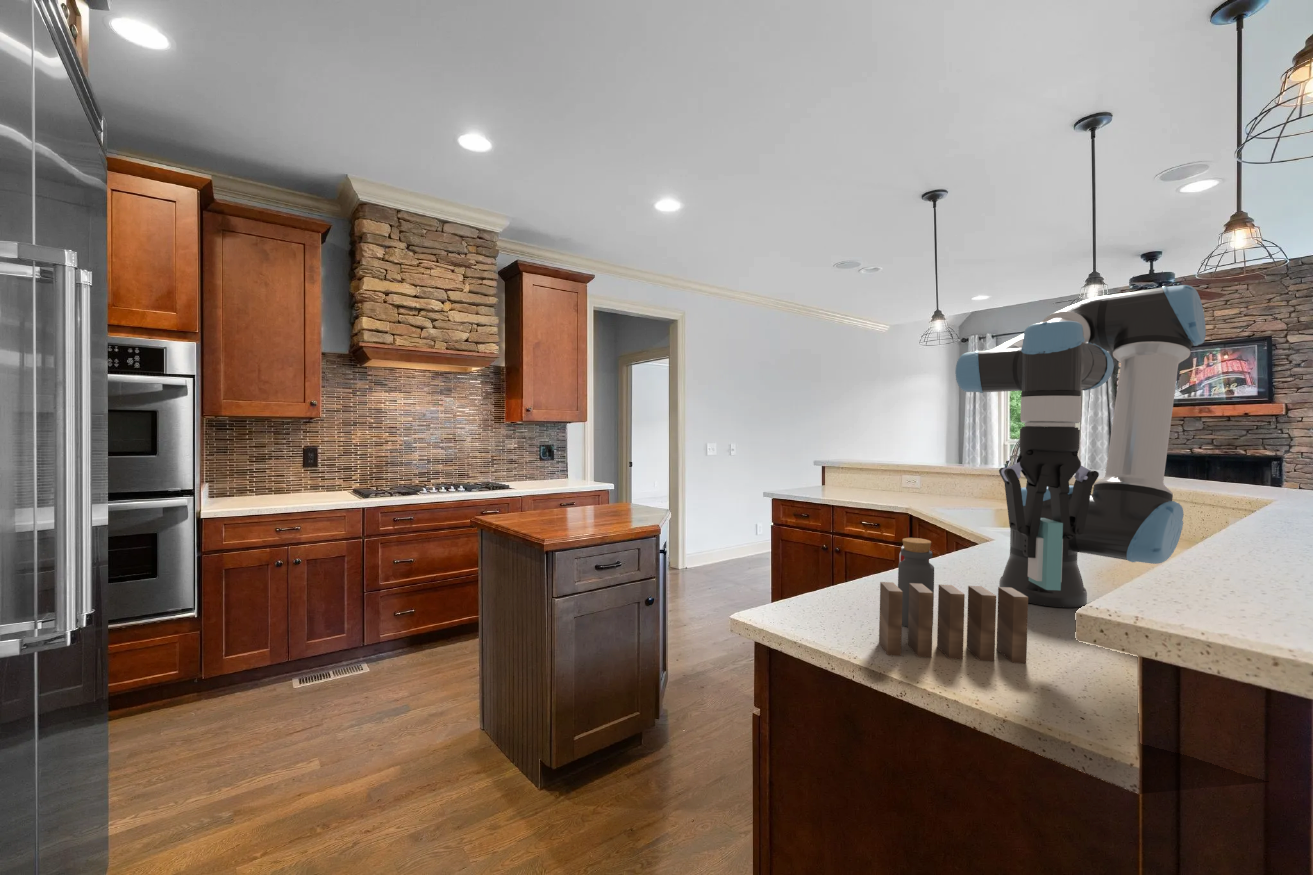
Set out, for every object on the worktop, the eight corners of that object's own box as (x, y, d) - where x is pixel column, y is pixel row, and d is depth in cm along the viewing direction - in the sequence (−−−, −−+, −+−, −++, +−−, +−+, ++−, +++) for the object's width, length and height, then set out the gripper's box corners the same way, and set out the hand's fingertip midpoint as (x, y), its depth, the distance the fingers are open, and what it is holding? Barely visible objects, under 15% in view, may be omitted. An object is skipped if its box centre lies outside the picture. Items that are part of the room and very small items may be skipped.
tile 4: (950, 646, 92) (951, 584, 92) (962, 659, 87) (964, 594, 87) (937, 645, 92) (938, 584, 92) (948, 658, 87) (950, 593, 87)
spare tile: (1042, 581, 90) (1044, 517, 90) (1060, 590, 85) (1062, 523, 85) (1028, 580, 90) (1030, 517, 90) (1046, 589, 85) (1048, 522, 85)
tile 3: (979, 648, 91) (981, 586, 91) (994, 661, 86) (996, 595, 86) (966, 647, 92) (968, 585, 91) (980, 660, 87) (982, 595, 86)
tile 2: (1009, 649, 91) (1011, 587, 90) (1026, 663, 86) (1028, 597, 86) (996, 649, 91) (998, 586, 91) (1012, 662, 86) (1013, 596, 86)
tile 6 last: (891, 643, 93) (893, 582, 93) (901, 655, 88) (902, 591, 88) (878, 642, 93) (880, 581, 93) (887, 655, 88) (889, 590, 88)
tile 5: (920, 645, 92) (922, 583, 92) (931, 657, 87) (933, 592, 87) (907, 644, 93) (909, 583, 92) (918, 656, 88) (919, 592, 87)
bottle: (891, 623, 102) (893, 540, 102) (905, 615, 106) (906, 535, 106) (925, 632, 98) (927, 545, 98) (938, 624, 102) (940, 540, 102)
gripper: (1087, 425, 90) (1082, 575, 90) (985, 424, 91) (981, 570, 92) (1120, 426, 82) (1114, 588, 83) (1008, 424, 84) (1003, 583, 85)
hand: (1044, 578), depth 87 cm, fingers closed on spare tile, 2 cm apart
